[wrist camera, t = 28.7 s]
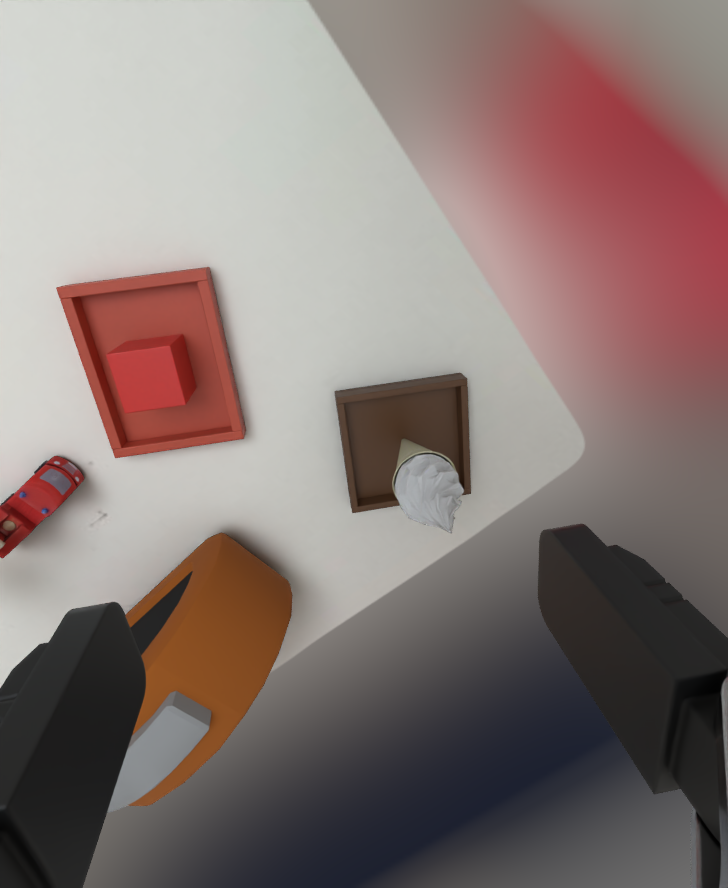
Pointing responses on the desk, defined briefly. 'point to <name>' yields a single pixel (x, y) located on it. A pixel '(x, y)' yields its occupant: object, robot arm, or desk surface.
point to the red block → (152, 373)
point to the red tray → (148, 316)
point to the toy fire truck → (36, 501)
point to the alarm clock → (200, 663)
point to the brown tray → (401, 432)
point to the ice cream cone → (426, 486)
